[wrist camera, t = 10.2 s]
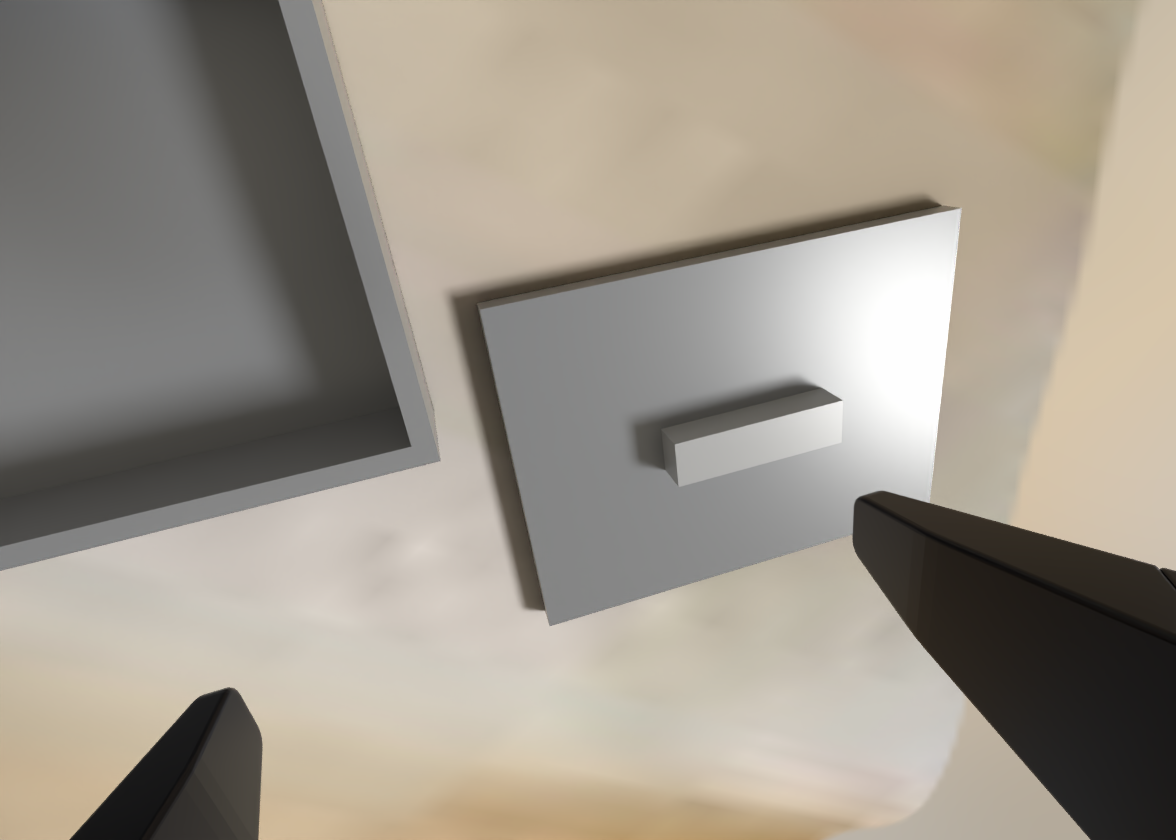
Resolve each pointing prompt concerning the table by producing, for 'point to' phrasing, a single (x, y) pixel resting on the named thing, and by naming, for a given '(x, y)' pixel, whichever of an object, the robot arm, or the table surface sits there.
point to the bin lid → (721, 404)
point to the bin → (188, 273)
